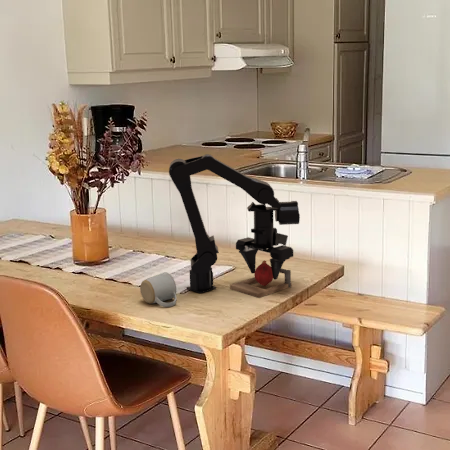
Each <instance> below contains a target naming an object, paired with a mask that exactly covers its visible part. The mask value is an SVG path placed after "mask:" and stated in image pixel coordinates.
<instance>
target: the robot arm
mask: <svg viewBox="0 0 450 450" xmlns="http://www.w3.org/2000/svg"><path fill="white" fill-rule="evenodd" d="M207 170H208V171H209V172H211V173H213V174H214V175H217V176H219V177H220V178H222V179H224V180H226V181H228V183H232V184H233V185H235V186H236V187H239V188H241V190H243V191H244V192H246V194H247V195H249V196H250V197H251V198H252V199H253V200H255V201H256V202H257V204H256V203H255V202H254V201H251V203H250V204H249V205H248V206H247V207H246V209H247V211H248V212H253V228H251V229H250V233H253V238H252V237H249V236H247V237H245V238H244V237H243V238H241V239H237V241H236V242H235V250H236V251H237V250H238V253H239V254H240V255H241V257H242V258H243V260H244V262H245V263H246V265H247V267H248V270H250V273H251V274H253V275H254V274H255V270H256V263H257V262H256V259H257V258H256V255H257V254H258V251H260V252H263V253H264V252H265V253H267V254H268V253H269V256H270V257H271V258H269V262H270V263H269V265H270V266H271V269H272V275H273V280H275V281H276V280H278V278H279V275H280V274H281V273H280V270H281V268H283V266H284V263H285V262H286V261H287V260H289V259H291V258H293V257H294V249H293V248H292V246H287V242H288V237H289V236H288V235H287V234H283V233H280V232H279V233H278V229H277V228H276V227H274V222H278V224H279V226H280V225H283V226H284V225H286V226H287V225H299V224H300V221H301V220H300V218H301V217H300V216H301V215H300V212H299V211H300V209H299V202H298V201H297V200H291V201H280V200H279V198H276V197H275V192H274V191H275V190H274V189H273V187H272V185H271V184H270V183H268V182H267V181H264V180H261V179H258V178H254V177H251V176H248V175H246V174H244V173H242V172H241V171H239V170H237V169H235V168H233V167H231V166H230V165H228V164H226V163H225V162H224V161H223V162H222V161H221V160H219V159H217V158H215V157H214V156H213V155H212V154H209V153H205V154H204V155H200V156H195V157H191V158H186V159H183V158H175V159H173V160H171V163H170V164H169V168H168V175H169V177H170V178H171V180H172V182H173V185H174V186H175V188H176V189H177V191H178V193H179V194H180V198H181V200H182V203H183V207H184V209H185V212H186V215H187V218H188V221H189V224H190V225H189V226H190V228H191V230H192V233H193V237H194V242H195V249H196V253H195V254H194V255H193V256H192V257H191V258H190V269H189V270H188V272H189V286H187V287H186V290H189V291H192V292H195V293H198V294H203V293H206V292H209V291H213V290H216V289H217V286H215V285H214V272H213V267H212V266H214V265H215V264H216V263H217V260H218V254H220V253H219V247H218V246H217V244H216V241H215V236H214V235H211V236H210V235H209V234H208V232H207V231H206V227H205V225H204V222H203V221H204V220H203V218H202V215H201V211H200V209H199V205H198V203H197V200H196V197H195V194H194V191H193V187H192V179H191V176H193V175H196V174H199V173H201V172H203V171H207ZM258 203H259V204H258ZM266 205H269V206H266ZM274 218H275V220H274Z"/></svg>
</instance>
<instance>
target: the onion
mask: <svg viewBox="0 0 450 450" xmlns="http://www.w3.org/2000/svg"><path fill="white" fill-rule="evenodd" d="M253 275H254V277H255V279H256V281H257V282H256V283H258V284H259V285H261V286H262V287H267V286H268V285H269V284H271V282H272V281H273V280H274V278H273V275H272V269H271V265H270V264H268V263H267V260H262V262H261V264H259V265H257V267H255V273H253Z"/></svg>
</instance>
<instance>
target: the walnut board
mask: <svg viewBox="0 0 450 450" xmlns="http://www.w3.org/2000/svg"><path fill="white" fill-rule="evenodd" d="M279 274H283V275H284V282H282V283H280V284H277V285H273V286H271V287H268V288H261V287H258V286H255V285H253V284H256V283H258V282H257V281H256V279H255V276H254V277H251V278H247V279H245V280H241V281H238V282H235V283H232V284H229V289H230V290H232V291H236V292H239V293H242V294H246V295H249V296H252V297H255V298H259V299H260V298H262V297H265V296H269V295H271V294H274V293H277V292H280V291H283V290H286V289H288V288H292V287H293V284H292V283H293V282H291V281H292V280H291V279H292V278H291V275H292V271H291V269H285V268H283V267H281V270H280V273H279ZM268 294H269V295H268Z"/></svg>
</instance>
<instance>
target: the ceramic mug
mask: <svg viewBox="0 0 450 450" xmlns="http://www.w3.org/2000/svg"><path fill="white" fill-rule="evenodd" d="M139 290H140V294H141V297H142V299H143V301H144V302H146V303H147V304H149V305H150V304H157V305H158V306H160V307H164V308H171V307H174V306H175V305H176V303H177V299H178V297H177V284H176V281H175V279H174V277H173V276H172V275H171V274H170V273H169V272H162V273H159V274H157V275H153V276H149V277H147V278H145V279H144V280H142V282H141V283H140V286H139ZM172 299H174V300H173V301H171V302H165V301H167V300H172Z"/></svg>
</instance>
